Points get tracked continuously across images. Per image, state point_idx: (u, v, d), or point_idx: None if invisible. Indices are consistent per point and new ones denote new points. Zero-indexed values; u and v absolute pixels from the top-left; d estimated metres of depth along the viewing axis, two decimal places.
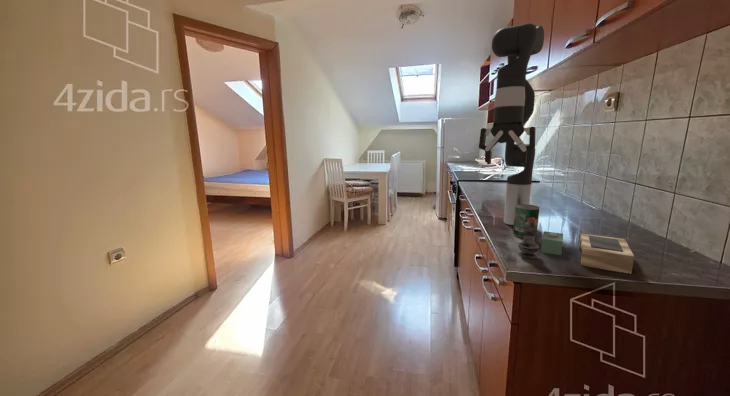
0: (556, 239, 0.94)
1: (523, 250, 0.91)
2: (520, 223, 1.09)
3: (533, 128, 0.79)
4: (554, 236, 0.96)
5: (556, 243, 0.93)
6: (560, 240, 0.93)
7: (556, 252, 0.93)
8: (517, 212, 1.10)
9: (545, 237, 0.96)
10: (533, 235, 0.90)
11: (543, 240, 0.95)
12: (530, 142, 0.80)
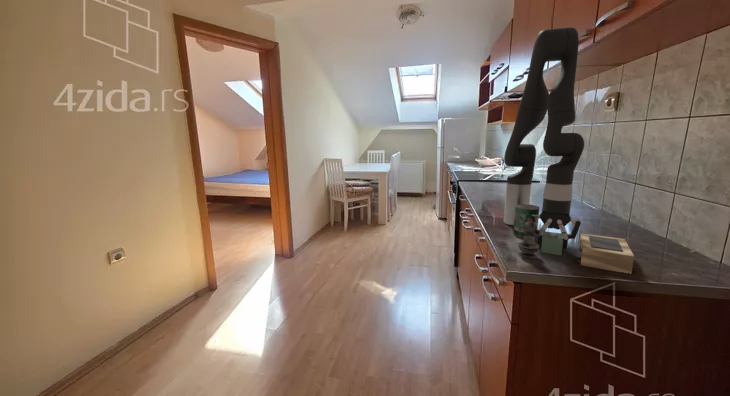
0: (556, 239, 0.94)
1: (523, 250, 0.91)
2: (520, 223, 1.09)
3: (579, 223, 0.91)
4: (554, 236, 0.96)
5: (556, 243, 0.93)
6: (561, 240, 0.93)
7: (556, 252, 0.93)
8: (517, 212, 1.10)
9: (545, 237, 0.96)
10: (533, 235, 0.90)
11: (543, 240, 0.95)
12: (573, 233, 0.93)
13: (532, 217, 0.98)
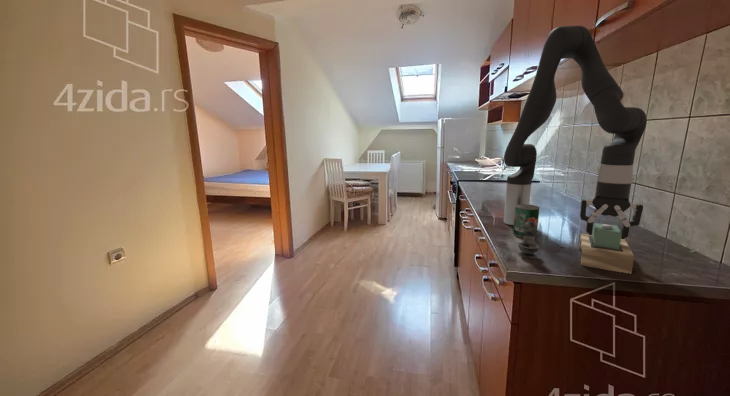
0: (613, 231, 0.84)
1: (523, 250, 0.91)
2: (520, 223, 1.09)
3: (641, 207, 0.81)
4: (609, 228, 0.86)
5: (614, 235, 0.83)
6: (618, 232, 0.83)
7: (613, 245, 0.83)
8: (517, 212, 1.10)
9: (599, 229, 0.86)
10: (533, 235, 0.90)
11: (598, 232, 0.85)
12: (635, 219, 0.82)
13: (584, 202, 0.88)
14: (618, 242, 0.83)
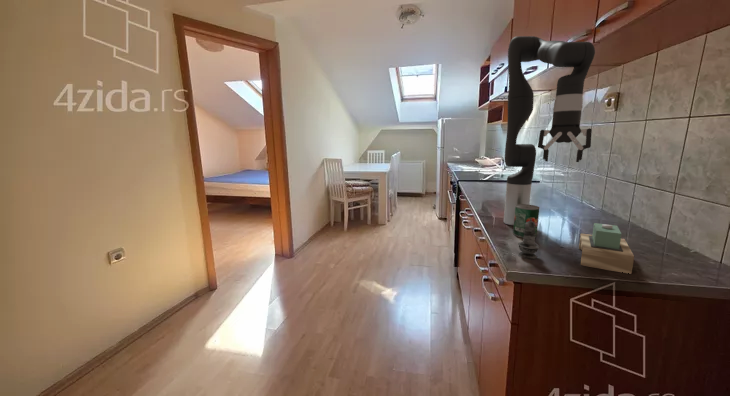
0: (613, 231, 0.84)
1: (523, 250, 0.91)
2: (520, 223, 1.09)
3: (590, 130, 0.91)
4: (609, 228, 0.86)
5: (614, 235, 0.83)
6: (618, 232, 0.83)
7: (613, 245, 0.83)
8: (517, 212, 1.10)
9: (599, 229, 0.86)
10: (533, 235, 0.90)
11: (598, 232, 0.85)
12: (587, 142, 0.92)
13: (542, 131, 0.98)
14: (618, 242, 0.83)
